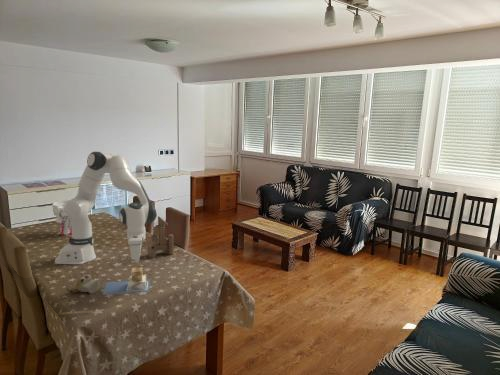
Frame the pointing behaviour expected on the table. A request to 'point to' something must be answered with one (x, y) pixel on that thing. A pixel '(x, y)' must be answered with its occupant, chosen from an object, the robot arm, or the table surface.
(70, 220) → the robot arm
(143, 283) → the base block
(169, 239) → the wooden toy
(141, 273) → the oak cube
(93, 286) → the ceramic sculpture
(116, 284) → the board
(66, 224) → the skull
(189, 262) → the table surface
